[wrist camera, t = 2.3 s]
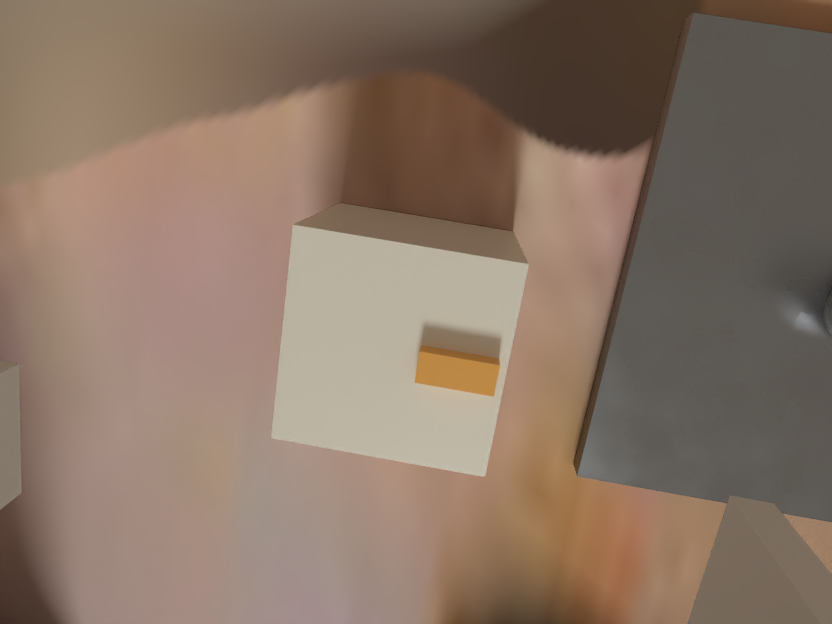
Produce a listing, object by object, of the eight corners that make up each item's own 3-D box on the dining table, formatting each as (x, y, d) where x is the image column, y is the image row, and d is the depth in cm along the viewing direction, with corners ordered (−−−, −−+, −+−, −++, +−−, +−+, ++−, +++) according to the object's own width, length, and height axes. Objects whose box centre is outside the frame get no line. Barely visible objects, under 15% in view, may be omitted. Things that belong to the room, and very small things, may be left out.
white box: (320, 365, 27) (265, 446, 20) (340, 202, 25) (287, 226, 18) (481, 393, 27) (485, 486, 20) (513, 231, 25) (530, 268, 18)
